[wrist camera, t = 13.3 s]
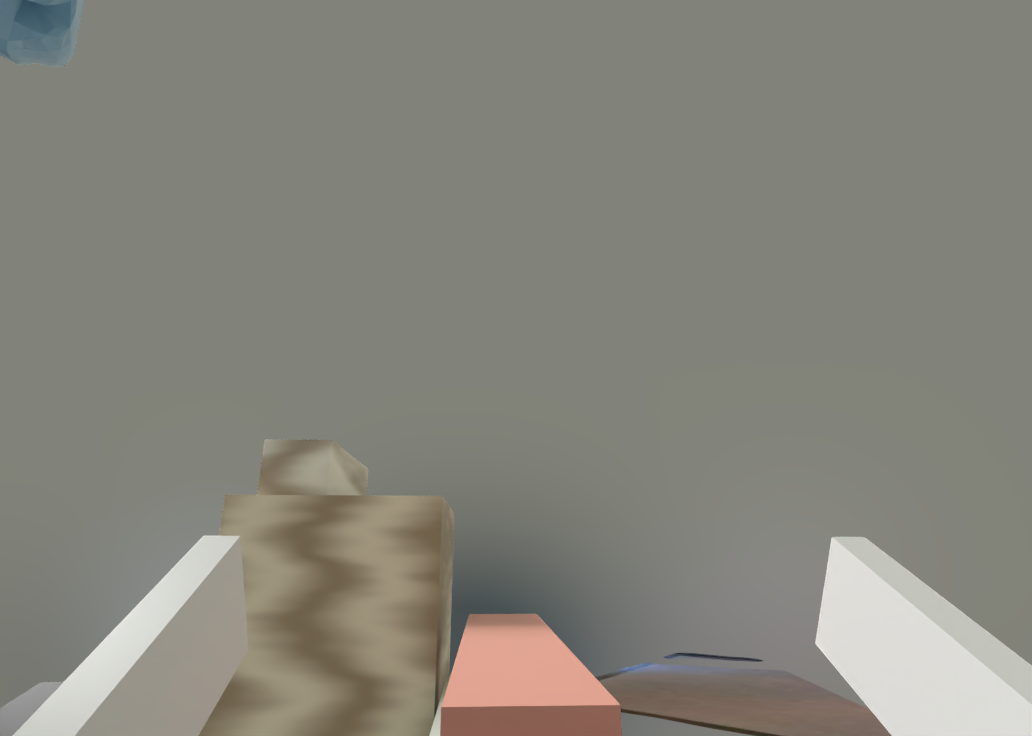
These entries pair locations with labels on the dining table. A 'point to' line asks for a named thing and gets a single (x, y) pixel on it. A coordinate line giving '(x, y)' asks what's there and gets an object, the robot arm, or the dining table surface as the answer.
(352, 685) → the tall wood-grain block
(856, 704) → the dining table surface
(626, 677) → the dining table surface
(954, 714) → the robot arm
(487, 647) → the stub
